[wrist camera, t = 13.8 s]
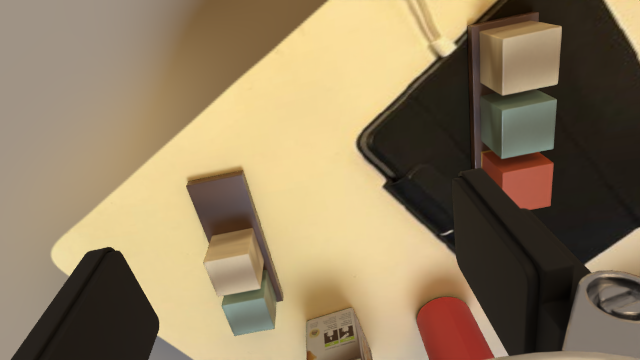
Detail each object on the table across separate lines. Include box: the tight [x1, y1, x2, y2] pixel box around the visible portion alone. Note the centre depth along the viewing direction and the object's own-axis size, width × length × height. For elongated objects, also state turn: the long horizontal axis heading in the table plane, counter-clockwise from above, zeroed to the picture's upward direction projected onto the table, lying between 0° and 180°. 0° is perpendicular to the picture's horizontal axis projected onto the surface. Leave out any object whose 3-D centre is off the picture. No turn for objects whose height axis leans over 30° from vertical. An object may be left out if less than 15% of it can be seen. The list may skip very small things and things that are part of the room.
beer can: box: [417, 297, 495, 360], centre depth 44 cm, size 7×7×12 cm
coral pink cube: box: [482, 151, 553, 210], centre depth 38 cm, size 4×4×4 cm
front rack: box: [467, 11, 562, 169], centre depth 36 cm, size 17×6×5 cm, turn 11°
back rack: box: [186, 170, 283, 336], centre depth 41 cm, size 17×6×5 cm, turn 11°
